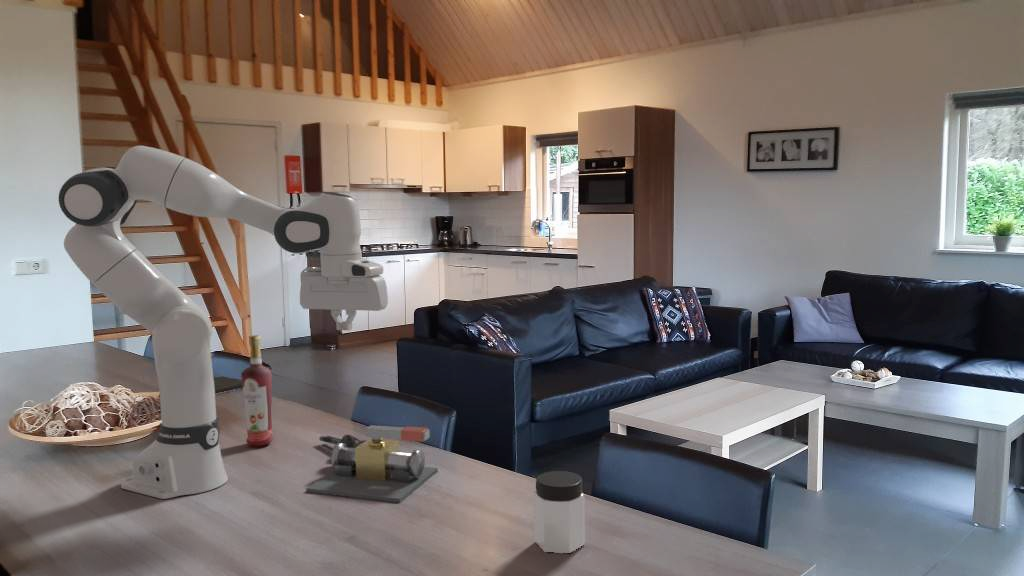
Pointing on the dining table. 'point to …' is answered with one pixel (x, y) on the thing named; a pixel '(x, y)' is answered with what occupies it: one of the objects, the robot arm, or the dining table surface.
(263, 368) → the liquor
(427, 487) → the dining table surface
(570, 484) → the jar
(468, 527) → the dining table surface
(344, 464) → the pipe valve
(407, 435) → the lever
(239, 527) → the dining table surface
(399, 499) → the mat
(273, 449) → the dining table surface
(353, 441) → the valve
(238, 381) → the dark grey flat slab
